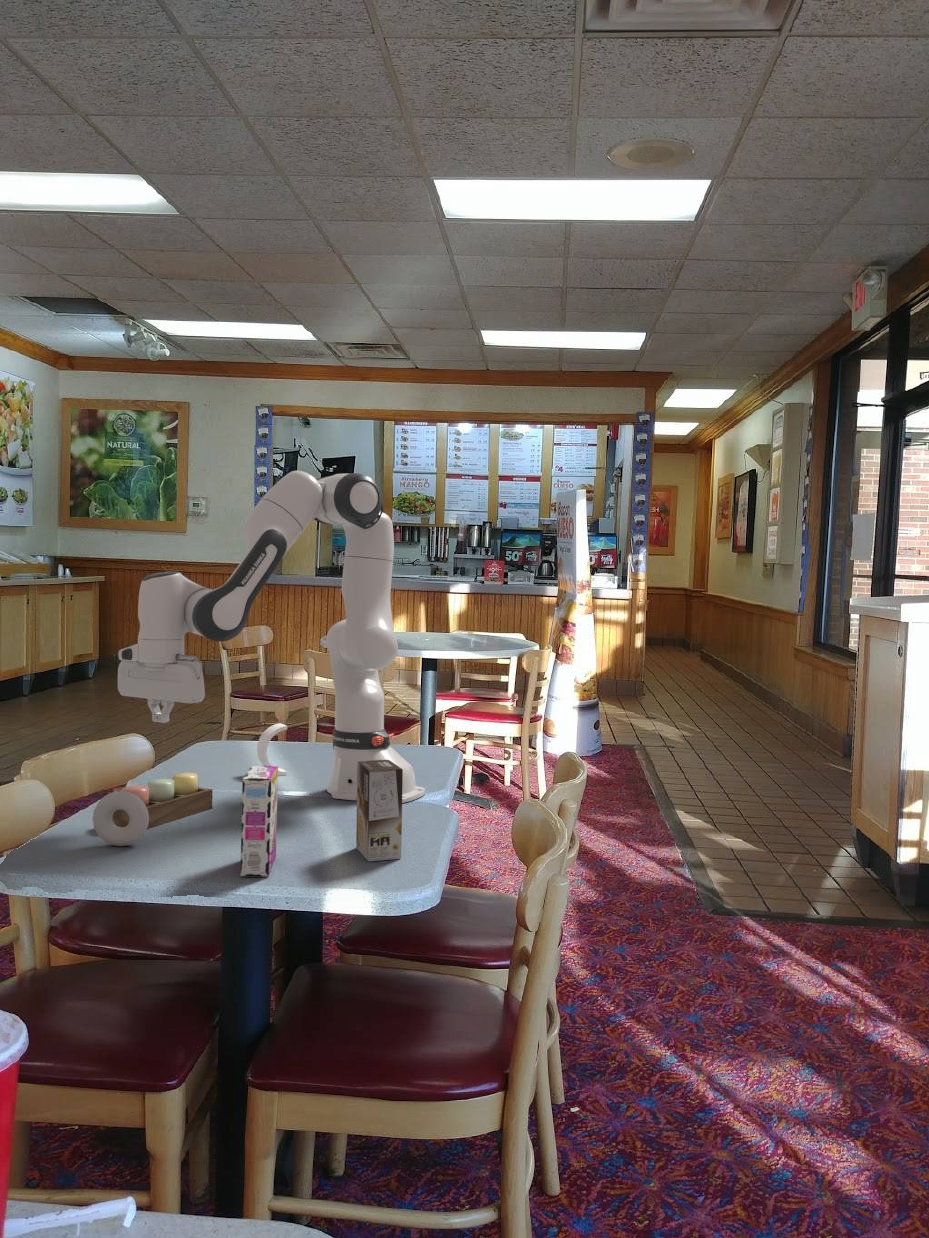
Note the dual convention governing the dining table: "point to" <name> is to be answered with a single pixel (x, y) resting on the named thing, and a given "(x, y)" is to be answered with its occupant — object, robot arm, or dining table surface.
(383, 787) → the coffee box
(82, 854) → the dining table surface
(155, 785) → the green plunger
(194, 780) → the yellow short cylinder
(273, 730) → the headphone stand
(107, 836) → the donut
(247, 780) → the candy bar box
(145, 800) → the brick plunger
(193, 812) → the wooden compartment tray
